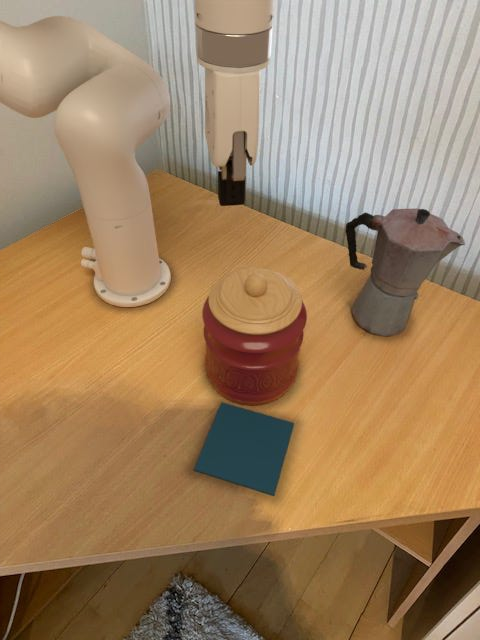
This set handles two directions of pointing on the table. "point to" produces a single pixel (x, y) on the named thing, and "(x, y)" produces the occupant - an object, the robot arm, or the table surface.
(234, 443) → the cloth
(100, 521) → the table surface
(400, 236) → the moka pot
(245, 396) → the kitchen canister
